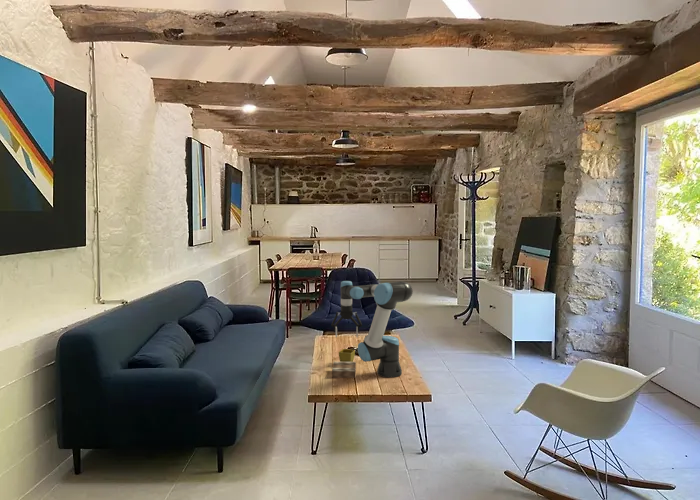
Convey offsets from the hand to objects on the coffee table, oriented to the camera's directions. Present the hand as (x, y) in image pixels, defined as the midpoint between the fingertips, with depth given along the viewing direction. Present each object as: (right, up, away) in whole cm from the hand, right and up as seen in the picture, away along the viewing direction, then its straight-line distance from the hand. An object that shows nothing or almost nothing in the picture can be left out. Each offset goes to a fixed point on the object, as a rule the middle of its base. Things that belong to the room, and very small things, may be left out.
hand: (346, 336), depth 319 cm
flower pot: (0, -19, +1) cm, 19 cm away
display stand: (-1, -20, -18) cm, 26 cm away
